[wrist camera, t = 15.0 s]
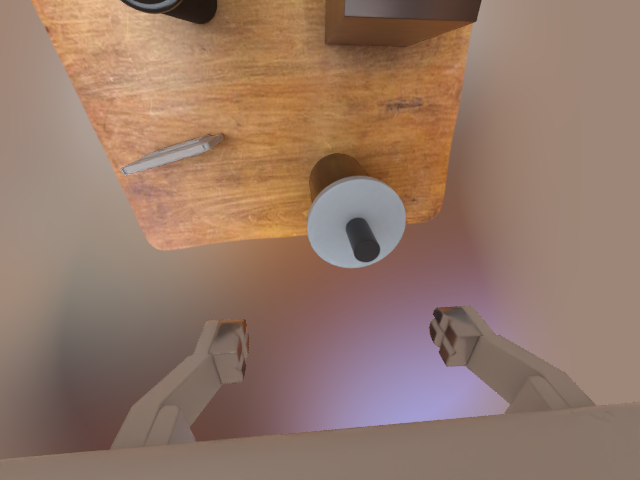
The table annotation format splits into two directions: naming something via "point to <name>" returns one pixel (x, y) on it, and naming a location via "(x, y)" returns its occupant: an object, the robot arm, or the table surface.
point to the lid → (355, 221)
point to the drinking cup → (178, 8)
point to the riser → (394, 20)
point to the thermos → (333, 172)
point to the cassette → (174, 153)
